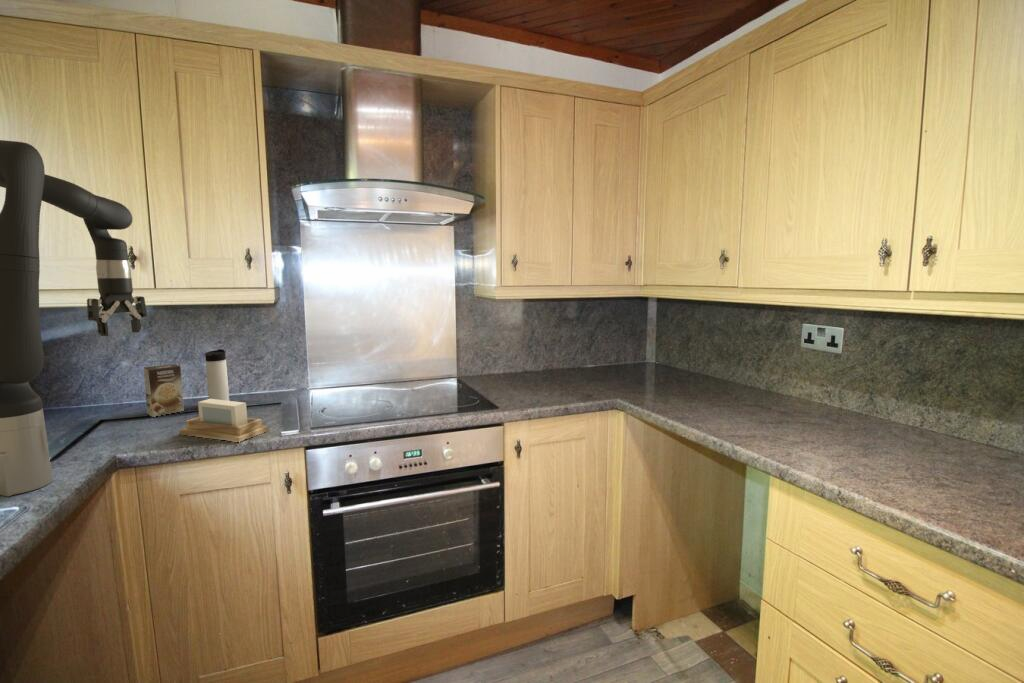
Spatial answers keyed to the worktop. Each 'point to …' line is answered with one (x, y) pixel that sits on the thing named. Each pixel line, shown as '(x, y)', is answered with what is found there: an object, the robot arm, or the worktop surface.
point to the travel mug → (217, 375)
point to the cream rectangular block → (223, 412)
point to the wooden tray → (224, 429)
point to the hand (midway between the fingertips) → (120, 334)
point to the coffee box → (163, 389)
